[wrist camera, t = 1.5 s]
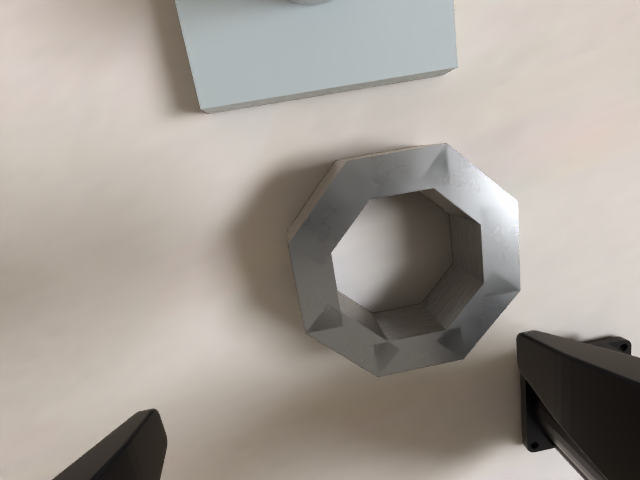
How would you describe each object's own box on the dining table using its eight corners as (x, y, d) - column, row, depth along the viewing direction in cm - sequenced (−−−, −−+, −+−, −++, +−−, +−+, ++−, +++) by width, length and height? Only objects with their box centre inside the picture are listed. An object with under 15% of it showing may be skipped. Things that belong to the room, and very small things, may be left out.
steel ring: (486, 318, 20) (521, 346, 17) (311, 354, 19) (316, 389, 16) (476, 135, 17) (515, 131, 14) (276, 170, 17) (273, 173, 14)
